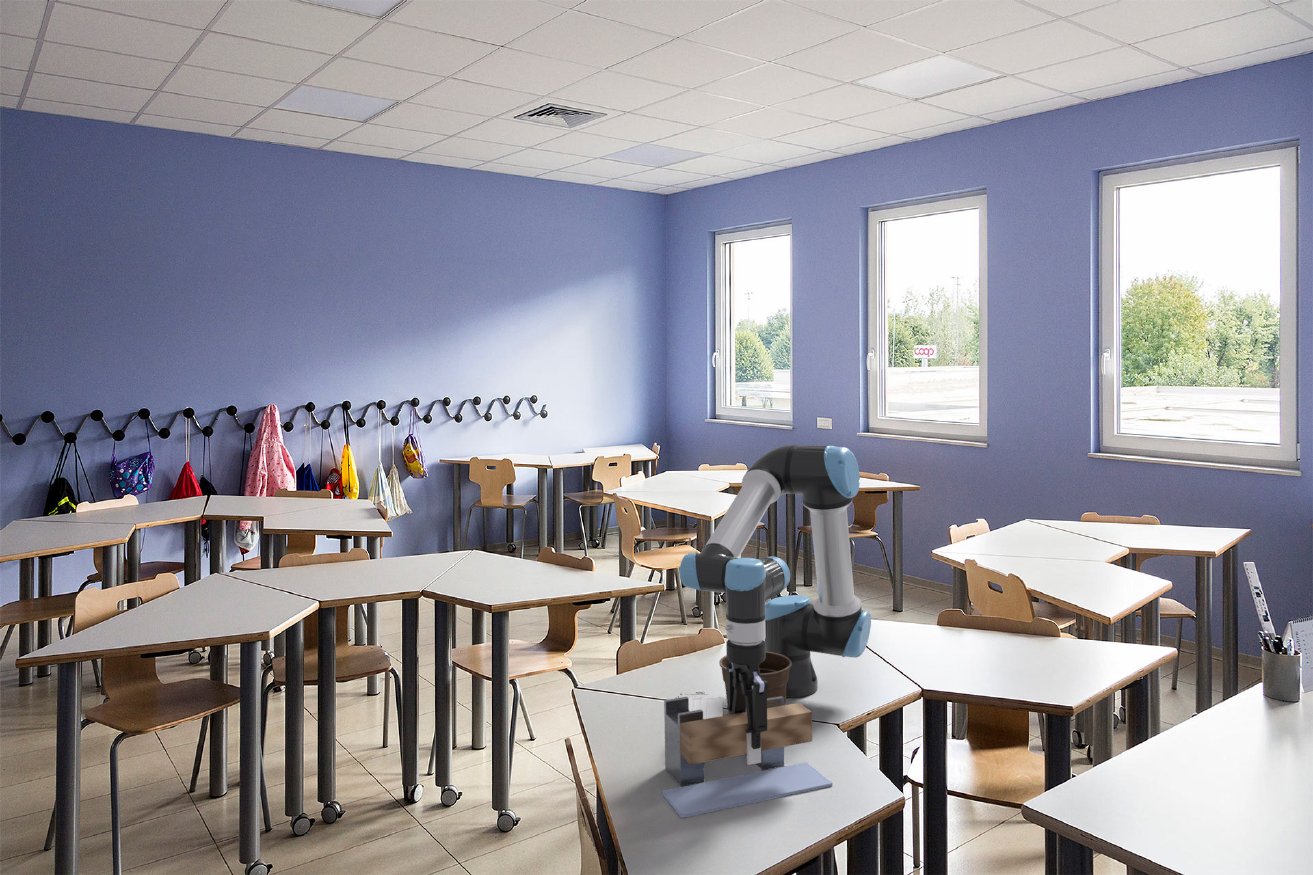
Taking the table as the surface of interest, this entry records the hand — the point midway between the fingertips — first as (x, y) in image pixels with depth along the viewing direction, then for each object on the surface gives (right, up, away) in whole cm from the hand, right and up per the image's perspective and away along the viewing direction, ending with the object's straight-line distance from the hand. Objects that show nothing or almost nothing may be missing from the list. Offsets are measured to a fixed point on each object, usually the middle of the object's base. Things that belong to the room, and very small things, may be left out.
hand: (747, 756), depth 171 cm
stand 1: (-12, -6, +7) cm, 15 cm away
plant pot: (+5, -5, +28) cm, 29 cm away
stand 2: (+5, -6, +13) cm, 15 cm away
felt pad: (0, -7, 0) cm, 7 cm away
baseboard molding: (-8, -5, +31) cm, 33 cm away
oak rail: (0, +2, 0) cm, 2 cm away
